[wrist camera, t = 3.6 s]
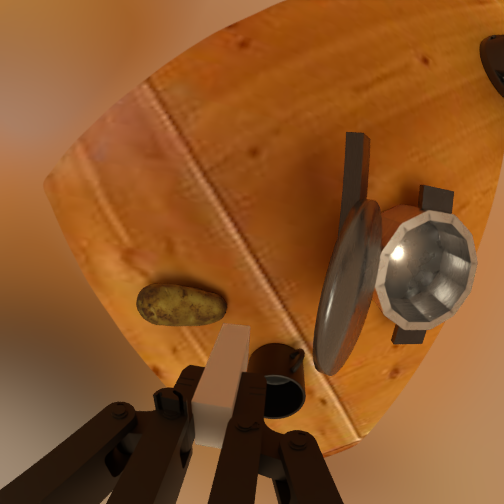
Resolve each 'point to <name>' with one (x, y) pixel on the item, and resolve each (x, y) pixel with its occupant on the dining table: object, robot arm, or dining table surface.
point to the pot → (423, 265)
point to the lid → (349, 264)
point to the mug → (280, 378)
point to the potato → (179, 305)
